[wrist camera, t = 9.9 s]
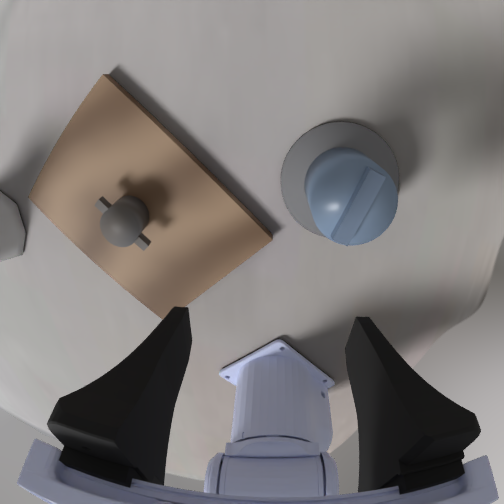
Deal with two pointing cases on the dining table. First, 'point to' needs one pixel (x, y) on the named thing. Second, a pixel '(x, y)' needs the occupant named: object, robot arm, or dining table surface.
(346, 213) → the cap
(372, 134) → the coaster
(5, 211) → the flask
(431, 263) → the dining table surface
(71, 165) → the post base
